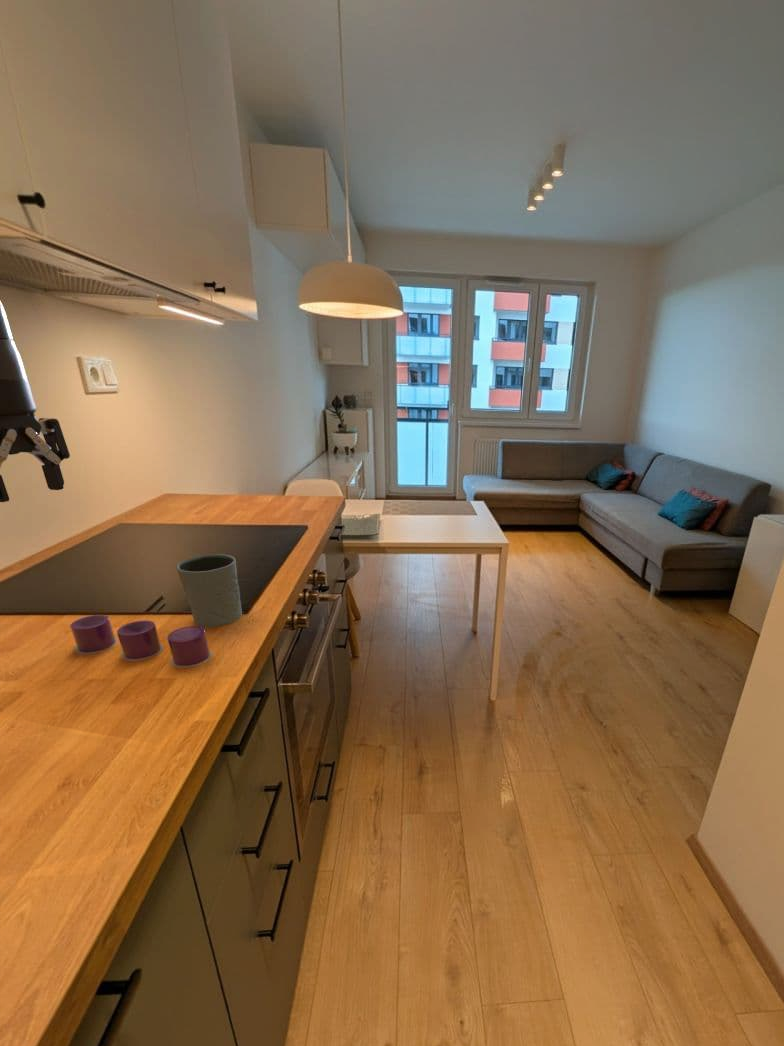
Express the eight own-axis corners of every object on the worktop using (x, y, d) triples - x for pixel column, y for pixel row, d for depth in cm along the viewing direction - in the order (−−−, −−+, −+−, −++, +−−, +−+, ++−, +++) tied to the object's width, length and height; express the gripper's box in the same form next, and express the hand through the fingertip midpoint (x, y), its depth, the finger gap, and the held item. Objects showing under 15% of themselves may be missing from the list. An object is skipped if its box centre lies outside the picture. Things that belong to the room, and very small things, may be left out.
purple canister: (165, 663, 83) (159, 639, 82) (188, 647, 88) (183, 624, 87) (195, 667, 82) (189, 643, 80) (216, 651, 87) (212, 627, 85)
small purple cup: (115, 657, 85) (108, 633, 83) (141, 641, 90) (134, 618, 88) (144, 661, 84) (137, 637, 82) (168, 645, 89) (162, 622, 87)
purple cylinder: (69, 650, 87) (61, 627, 85) (97, 635, 92) (90, 613, 90) (97, 654, 86) (89, 630, 84) (123, 639, 91) (116, 616, 89)
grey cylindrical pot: (244, 626, 97) (234, 568, 92) (186, 634, 94) (172, 574, 89) (245, 606, 106) (236, 551, 101) (192, 612, 102) (179, 556, 98)
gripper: (20, 376, 76) (53, 485, 82) (-91, 375, 63) (-42, 504, 70) (62, 377, 75) (92, 487, 81) (-43, 376, 62) (2, 507, 68)
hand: (30, 495), depth 75 cm, fingers open, 8 cm apart
